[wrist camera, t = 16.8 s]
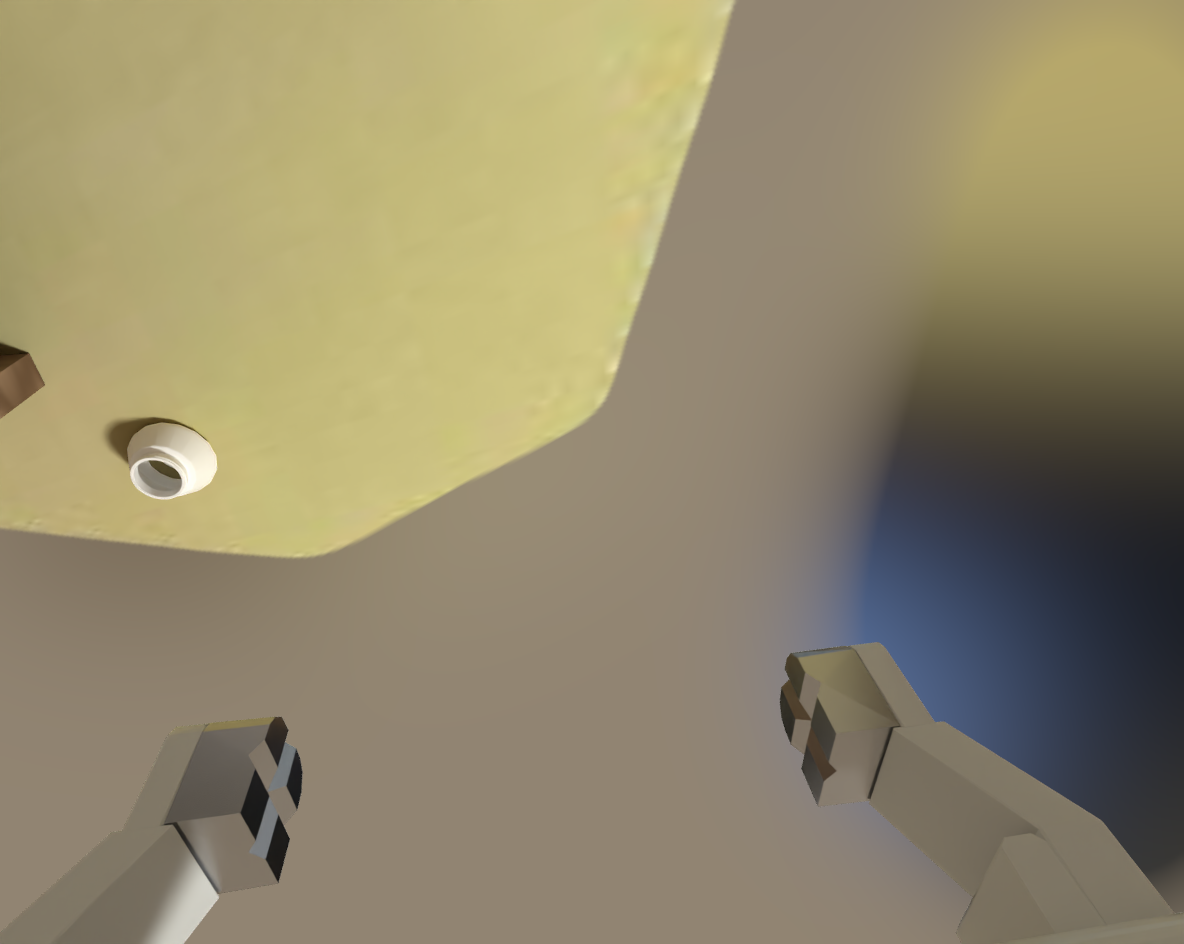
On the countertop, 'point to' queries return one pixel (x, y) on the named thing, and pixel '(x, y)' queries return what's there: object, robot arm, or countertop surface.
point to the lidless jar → (170, 460)
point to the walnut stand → (17, 380)
